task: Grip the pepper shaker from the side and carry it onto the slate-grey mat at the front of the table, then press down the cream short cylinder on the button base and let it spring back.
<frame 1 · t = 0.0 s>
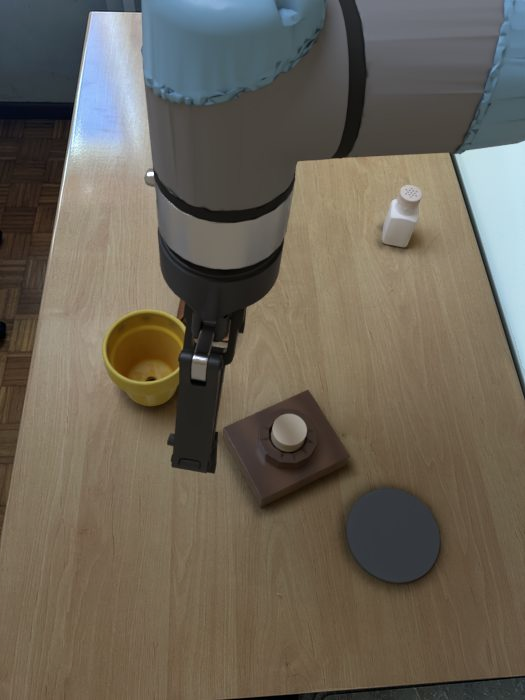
hand: (215, 393, 57), 25 cm above the table, tool pointing down, fingers open, 13 cm apart
button base: (283, 451, 82), on the table
brown curved piece: (324, 62, 123), on the table
cream short cylinder: (288, 432, 77), point 6 cm above the table, slide at 0.1 cm
sunglasses case: (215, 287, 94), on the table
cup: (191, 174, 105), on the table
scissors: (219, 79, 118), on the table
pepper shaker: (394, 238, 102), on the table
mat: (392, 535, 78), on the table
flower pot: (152, 385, 85), on the table
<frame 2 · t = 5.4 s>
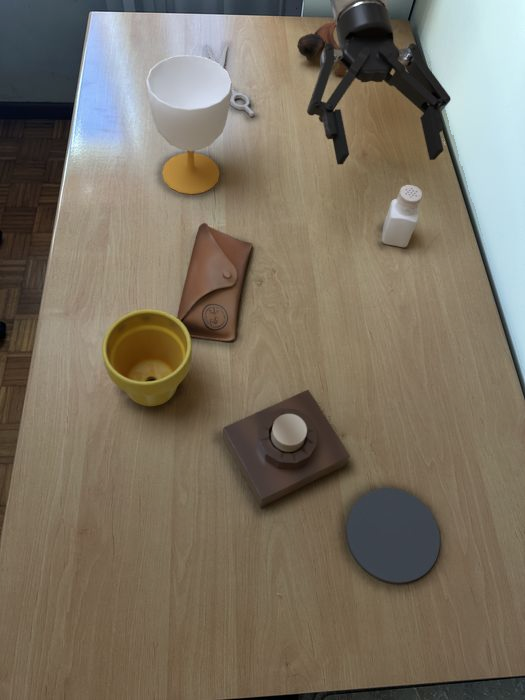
hand: (390, 157, 89), 15 cm above the table, tool tilted 70°, fingers open, 13 cm apart
nothing on the table moved.
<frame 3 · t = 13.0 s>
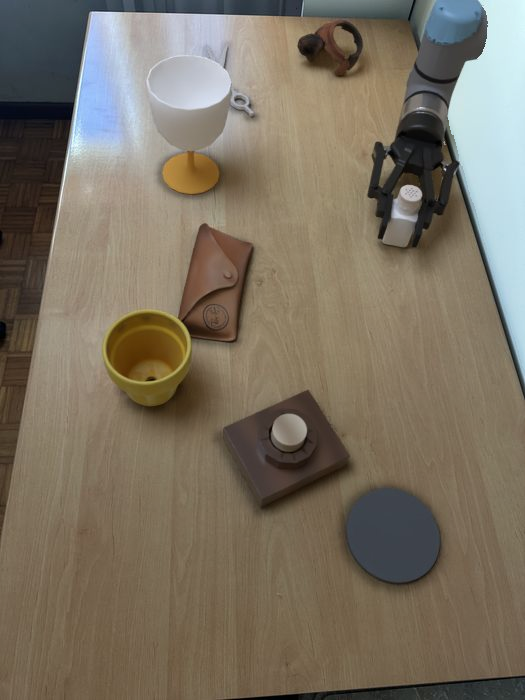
hand: (399, 236, 94), 6 cm above the table, tool horizontal, fingers closed on pepper shaker, 4 cm apart
pepper shaker: (394, 238, 102), on the table, touching gripper
everything else where it was.
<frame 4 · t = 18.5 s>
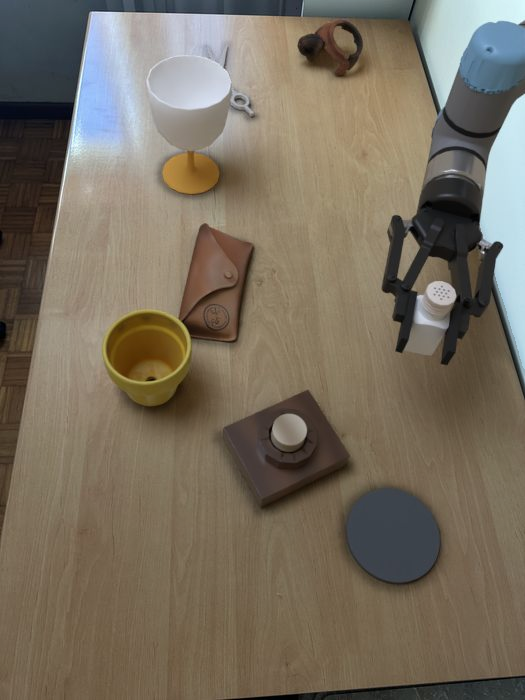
hand: (424, 351, 70), 18 cm above the table, tool horizontal, fingers closed on pepper shaker, 4 cm apart
pepper shaker: (416, 341, 78), point 12 cm above the table, touching gripper
everything else where it was.
when the fingers open (6 cm above the table, at t = 24.3 s): pepper shaker stays where it is, resting on mat.
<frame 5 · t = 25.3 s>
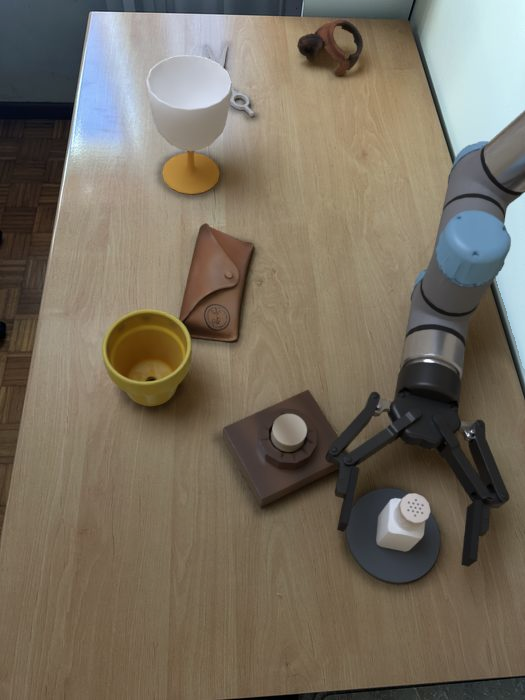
hand: (405, 545, 70), 7 cm above the table, tool horizontal, fingers open, 13 cm apart
pepper shaker: (392, 533, 77), resting on mat
everything else where it was.
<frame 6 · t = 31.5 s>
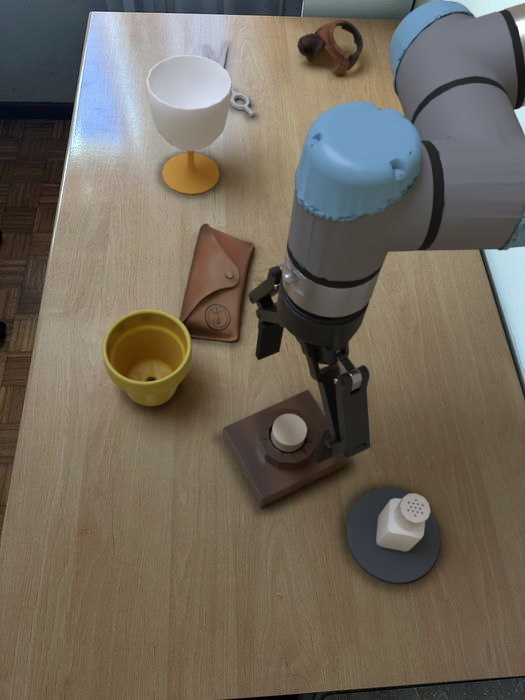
hand: (296, 402, 72), 12 cm above the table, tool pointing down, fingers open, 13 cm apart
nothing on the table moved.
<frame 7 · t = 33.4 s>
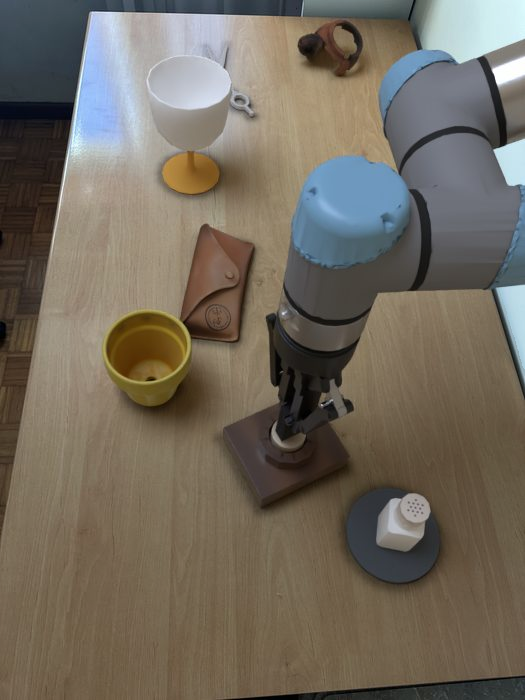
hand: (288, 431, 77), 6 cm above the table, tool pointing down, fingers closed
cream short cylinder: (287, 435, 78), point 5 cm above the table, slide at -0.8 cm, touching gripper
everything else where it was.
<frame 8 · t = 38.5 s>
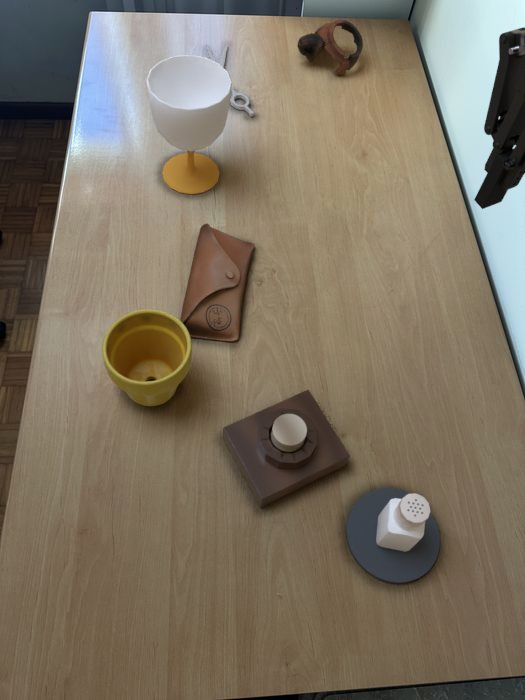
hand: (487, 200, 73), 24 cm above the table, tool pointing down, fingers closed
cream short cylinder: (288, 432, 77), point 6 cm above the table, slide at 0.1 cm
everything else where it was.
at the end: pepper shaker 0.1 cm off-centre on the mat, point 0.4 cm above the mat's base; pepper shaker tilted 0°; cream short cylinder pushed in 1.2 cm at the most during the clip, back to where it started at the end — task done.
